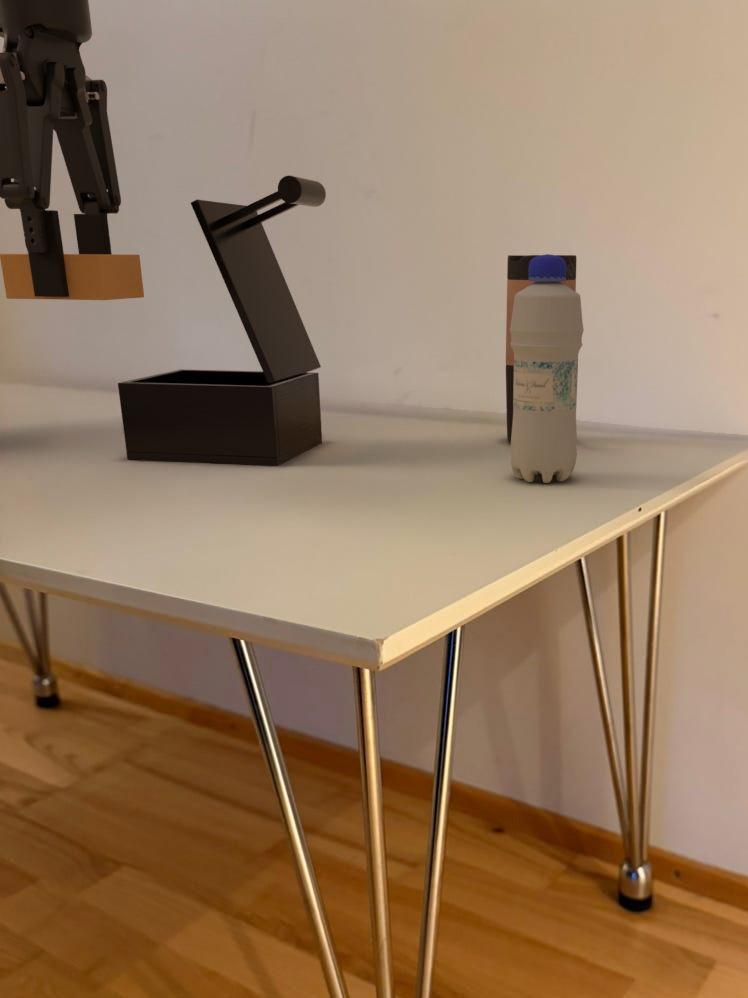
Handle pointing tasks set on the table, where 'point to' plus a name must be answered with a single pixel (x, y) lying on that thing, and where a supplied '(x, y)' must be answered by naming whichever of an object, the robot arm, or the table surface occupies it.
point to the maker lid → (262, 275)
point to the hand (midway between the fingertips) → (77, 294)
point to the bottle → (545, 372)
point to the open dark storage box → (220, 417)
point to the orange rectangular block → (79, 277)
